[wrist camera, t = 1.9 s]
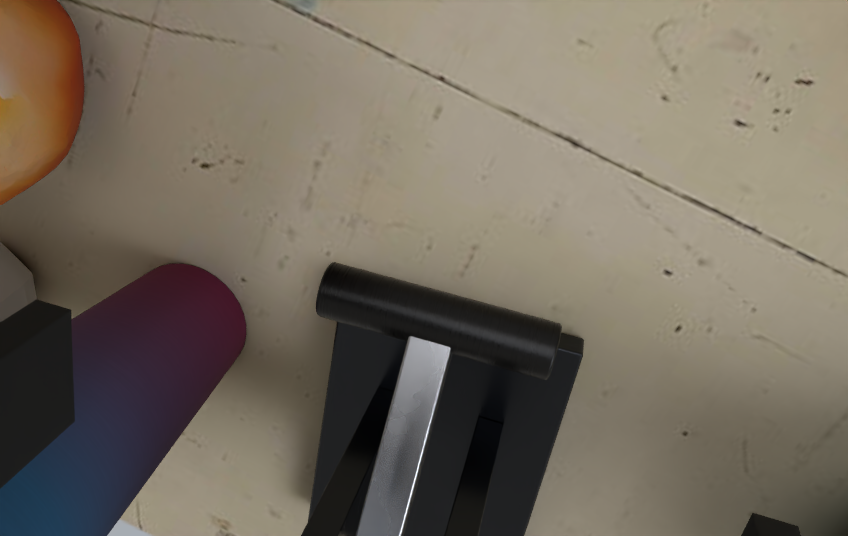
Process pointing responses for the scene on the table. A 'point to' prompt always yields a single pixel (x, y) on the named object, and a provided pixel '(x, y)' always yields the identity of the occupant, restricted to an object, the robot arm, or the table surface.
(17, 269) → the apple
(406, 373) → the lever
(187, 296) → the cup
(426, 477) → the bracket
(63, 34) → the fruit
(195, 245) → the table surface
